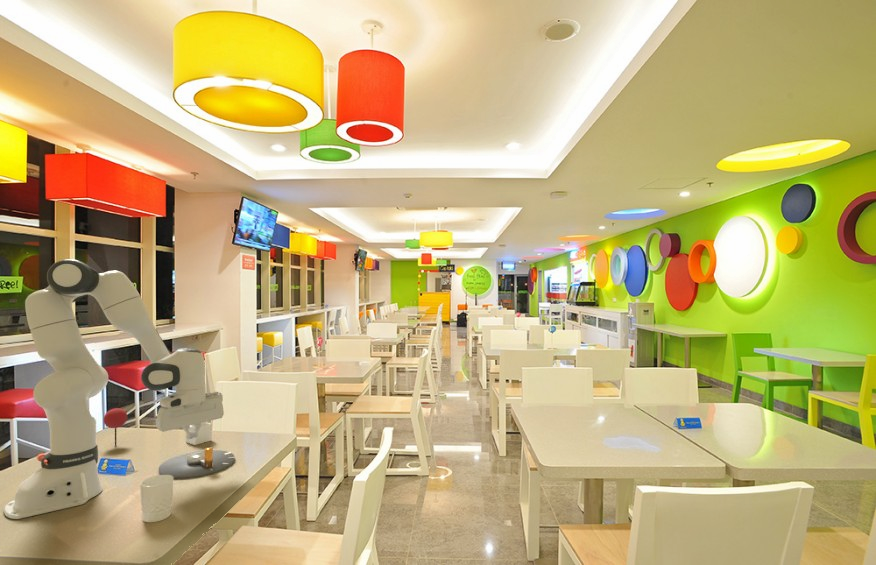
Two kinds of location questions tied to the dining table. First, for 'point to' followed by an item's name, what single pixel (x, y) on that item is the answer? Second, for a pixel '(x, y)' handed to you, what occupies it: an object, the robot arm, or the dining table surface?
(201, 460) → the dial
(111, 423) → the lollipop
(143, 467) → the dining table surface
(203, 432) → the white square bottle
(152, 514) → the white cup
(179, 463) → the dial plate
